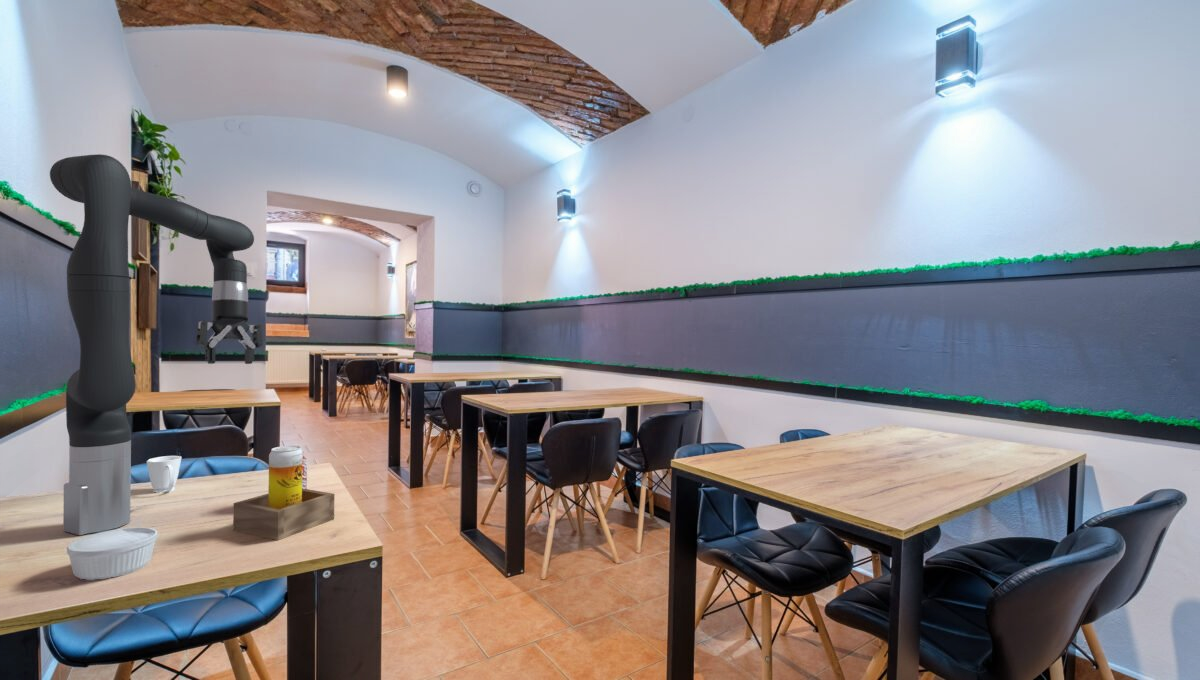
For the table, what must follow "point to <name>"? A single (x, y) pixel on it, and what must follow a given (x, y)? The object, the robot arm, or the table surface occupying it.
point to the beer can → (285, 476)
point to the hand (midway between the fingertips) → (230, 363)
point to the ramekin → (112, 552)
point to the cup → (164, 472)
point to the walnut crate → (283, 515)
